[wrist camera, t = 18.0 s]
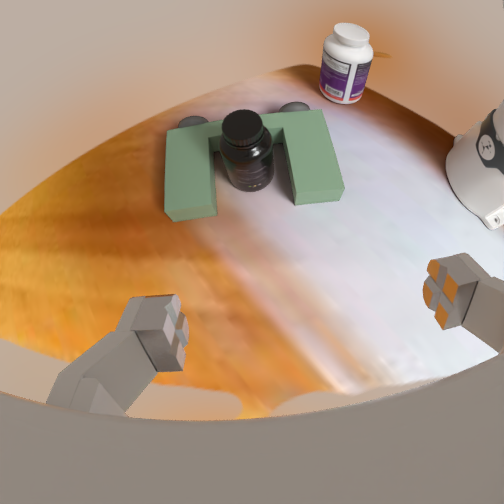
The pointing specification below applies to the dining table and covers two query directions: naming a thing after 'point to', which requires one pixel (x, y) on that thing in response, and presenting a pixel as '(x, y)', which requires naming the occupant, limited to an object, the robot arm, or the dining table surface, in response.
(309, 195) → the green u-shaped block
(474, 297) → the robot arm
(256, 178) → the supplement bottle
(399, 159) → the dining table surface
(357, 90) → the pill bottle
